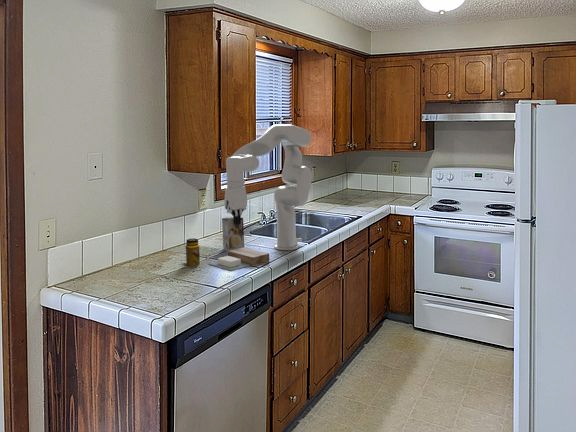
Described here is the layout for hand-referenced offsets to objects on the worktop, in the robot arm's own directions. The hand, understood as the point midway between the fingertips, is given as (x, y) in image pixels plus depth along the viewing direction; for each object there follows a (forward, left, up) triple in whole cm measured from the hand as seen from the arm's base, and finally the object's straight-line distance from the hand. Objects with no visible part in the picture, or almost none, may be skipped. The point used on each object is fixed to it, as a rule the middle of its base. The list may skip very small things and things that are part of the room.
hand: (237, 224), depth 249 cm
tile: (+6, +1, -15) cm, 16 cm away
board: (-5, +1, -18) cm, 19 cm away
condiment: (+18, -12, -18) cm, 28 cm away
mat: (+6, +1, -18) cm, 19 cm away
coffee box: (-15, -22, -18) cm, 33 cm away
